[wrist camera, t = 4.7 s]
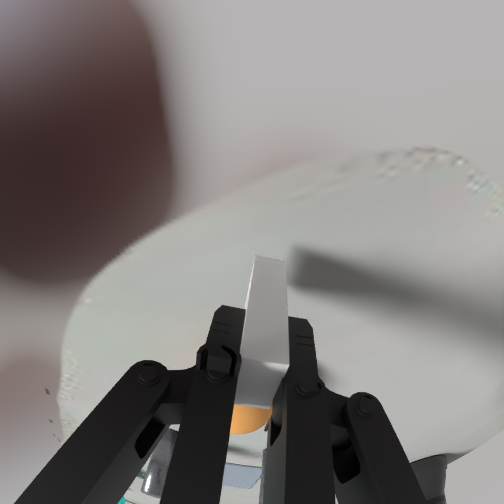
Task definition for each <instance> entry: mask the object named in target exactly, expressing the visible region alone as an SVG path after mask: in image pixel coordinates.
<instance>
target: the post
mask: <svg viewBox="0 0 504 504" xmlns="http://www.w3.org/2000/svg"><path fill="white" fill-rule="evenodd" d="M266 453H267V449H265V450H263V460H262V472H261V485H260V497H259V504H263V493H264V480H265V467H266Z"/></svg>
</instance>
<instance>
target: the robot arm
mask: <svg viewBox="0 0 504 504" xmlns="http://www.w3.org/2000/svg"><path fill="white" fill-rule="evenodd" d="M314 346H315V343H314V335H313V328H312V327H311V325H310V324H309V322H308V320H307V319H302V318H295V317H289V316H288V304H287V280H286V261H283V260H277V259H272V258H267V257H262V256H257V255H255V259H254V264H253V269H252V274H251V279H250V284H249V288H248V293H247V298H246V304H245V309H240V308H235V307H230V306H225V305H222V306H221V307H220V308H218V309H217V310H216V311H215V313H214V317H213V320H212V323H211V327H210V330H209V334H208V337H207V340H206V344H204V345H203V346H201V347H200V348H199V350H198V352H197V358H196V365H195V366H193V367H191V368H188V369H184V370H167V368H166V367H165V366H164V365H162V364H161V363H159V362H156V361H153V360H143V361H140V362H137V363H135V364H134V365H133V366H131V367H130V369H129V370H128V371H127V372H126V373H125V374H124V375H123V376H122V378H121V379H120V380H119V381H118V382H117V383H116V384H115V386H114V387H113V388H112V389H111V390H110V391H109V392H108V394H107V395H106V396H105V397H104V398H103V399H102V400H101V402H100V403H99V404H98V405H97V406H96V407H95V408H94V410H93V411H92V412H91V413H90V414H89V415H88V417H87V418H86V419H85V420H84V421H83V422H82V423H81V425H80V426H79V427H78V428H77V429H76V430H75V432H74V433H73V434H72V435H71V436H70V437H69V439H68V440H67V441H66V442H65V443H64V444H63V446H62V447H61V448H60V449H59V450H58V452H57V453H56V454H55V455H54V456H53V458H52V459H51V460H50V461H49V462H48V463H47V465H46V466H45V467H44V468H43V469H42V470H41V472H40V473H39V474H38V475H37V476H36V478H35V479H34V480H33V481H32V483H31V484H30V485H29V486H28V487H27V489H26V490H25V491H24V492H23V494H22V495H21V496H20V497H19V498H18V500H17V501H16V502H15V503H14V504H118V503H119V501H120V500H121V498H122V497H123V495H124V494H125V492H126V491H127V490H128V488H129V487H130V485H131V484H132V482H133V481H134V479H135V478H136V476H137V475H138V473H139V472H140V470H141V469H142V467H143V466H144V464H145V463H146V461H147V460H148V458H149V457H150V455H151V454H152V452H153V451H154V449H155V448H156V446H157V445H158V443H159V442H160V440H161V439H162V437H163V436H164V434H165V433H166V431H167V430H168V428H169V426H170V425H171V424H180V427H179V431H178V435H177V438H176V442H175V446H174V450H173V453H172V457H171V461H170V465H169V468H168V472H167V476H166V480H165V484H164V488H163V492H162V496H161V500H160V504H219V502H220V495H221V489H222V482H223V476H224V469H225V462H226V456H227V449H228V442H229V436H230V429H231V422H232V415H233V409H234V404H236V405H242V406H248V407H255V408H262V409H270V407H271V405H272V414H271V416H270V418H269V420H268V422H267V424H266V426H265V429H264V431H267V430H268V438H267V453H266V467H265V480H264V493H263V504H335V494H336V497H337V500H338V503H339V504H446V499H445V493H444V488H445V478H446V469H447V462H446V458H445V456H444V455H439V456H433V457H430V458H426V459H423V460H420V461H417V462H414V463H411V464H410V463H409V460H408V458H407V456H406V454H405V452H404V450H403V448H402V446H401V443H400V441H399V439H398V437H397V435H396V433H395V431H394V429H393V427H392V425H391V423H390V421H389V419H388V417H387V415H386V413H385V411H384V409H383V407H382V405H381V403H380V402H379V400H378V399H377V398H376V397H374V396H373V395H371V394H369V393H366V392H358V393H355V394H353V395H352V396H351V397H350V398H348V397H345V396H342V395H339V394H336V393H334V392H332V391H330V390H329V389H327V388H326V387H325V384H324V382H323V381H322V380H321V379H320V378H319V376H318V368H317V360H316V351H315V347H314Z"/></svg>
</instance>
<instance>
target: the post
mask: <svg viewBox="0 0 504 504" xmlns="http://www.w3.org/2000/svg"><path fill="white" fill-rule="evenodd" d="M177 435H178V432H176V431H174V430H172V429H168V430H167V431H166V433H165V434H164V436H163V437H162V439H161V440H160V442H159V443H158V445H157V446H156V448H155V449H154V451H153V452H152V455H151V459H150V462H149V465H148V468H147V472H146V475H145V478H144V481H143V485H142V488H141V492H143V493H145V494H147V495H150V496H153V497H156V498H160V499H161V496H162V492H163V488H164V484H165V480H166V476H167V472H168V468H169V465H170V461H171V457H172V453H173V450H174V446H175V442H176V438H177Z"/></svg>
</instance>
